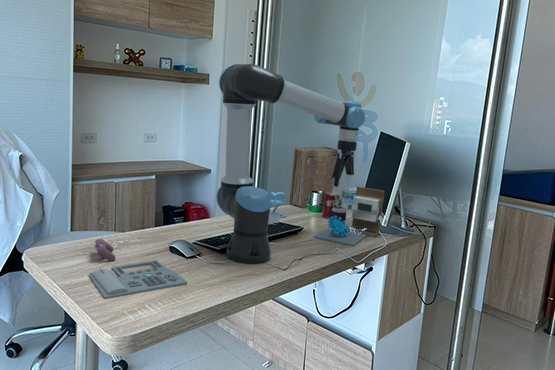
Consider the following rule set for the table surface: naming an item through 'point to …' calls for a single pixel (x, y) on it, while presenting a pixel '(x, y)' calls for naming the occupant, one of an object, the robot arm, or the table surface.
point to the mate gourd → (338, 211)
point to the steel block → (273, 218)
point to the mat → (347, 240)
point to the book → (311, 173)
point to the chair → (277, 201)
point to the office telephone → (134, 279)
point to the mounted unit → (367, 210)
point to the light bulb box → (348, 198)
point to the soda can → (329, 204)
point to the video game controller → (104, 250)
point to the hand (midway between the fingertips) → (341, 192)
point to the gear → (338, 226)
